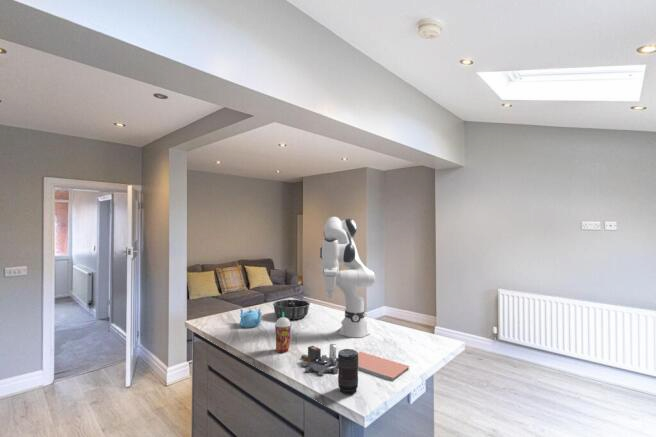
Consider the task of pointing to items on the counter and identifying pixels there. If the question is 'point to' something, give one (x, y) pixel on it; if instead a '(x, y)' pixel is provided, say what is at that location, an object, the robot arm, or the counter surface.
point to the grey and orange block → (314, 353)
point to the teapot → (250, 318)
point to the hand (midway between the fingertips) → (329, 297)
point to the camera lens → (348, 371)
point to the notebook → (380, 366)
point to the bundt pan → (291, 308)
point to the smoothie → (282, 334)
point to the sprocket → (324, 363)
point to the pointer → (304, 357)
